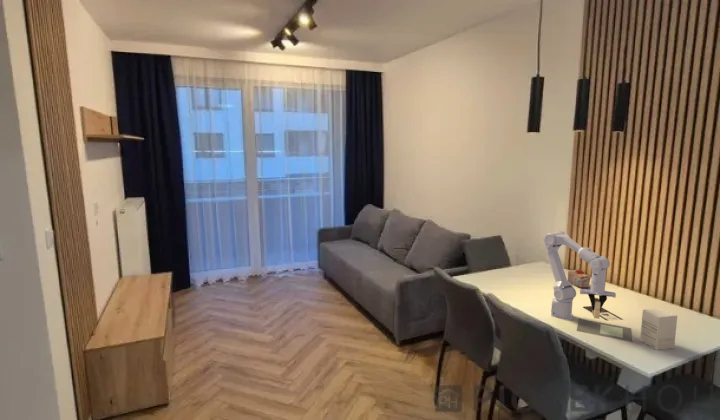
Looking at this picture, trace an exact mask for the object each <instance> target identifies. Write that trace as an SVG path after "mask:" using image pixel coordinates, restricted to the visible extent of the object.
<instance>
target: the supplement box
mask: <svg viewBox="0 0 720 420" xmlns="http://www.w3.org/2000/svg"><path fill="white" fill-rule="evenodd" d="M677 322H678V315H677V314H675V313H672V312H670V311H667V310H665V309H664V308H660V307H657V308H656V307H655V308H646V309H642V315H641V327H640V336H639V339H640V341H641V342H643V343H644V344H646V345H647V346H649V347H651V348H653V350H654V349H655V350H656V351H657V350H658V351H659V350H667V349H674V348H675V344H676V343H675V341H676V333H677Z"/></svg>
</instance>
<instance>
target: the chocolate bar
mask: <svg viewBox="0 0 720 420" xmlns="http://www.w3.org/2000/svg"><path fill="white" fill-rule="evenodd" d="M582 308H583V309H584V310H587V311H589V312H590V313H591V314H592V305H589V306H588V305H587V306H583V307H582ZM599 318H602V319H603V320H605V321H620V320H624V319H623V318H622V317H620V316H618V315H616V314H614V313H612V312H611V311H609V310H607V309H605V308H603V307H602V308H601V311H600V317H599Z"/></svg>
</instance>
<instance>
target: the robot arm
mask: <svg viewBox="0 0 720 420" xmlns="http://www.w3.org/2000/svg"><path fill="white" fill-rule="evenodd" d="M543 242H544V250H545V254H546V256H547V260H548V263H549V265H550V269H551V272H552V275H553V279H554V282H555V283H554V285H553V287H552V288H553V295H554V297H553V298H552V300H551V308H550V312H551V313H550V317H551V318H552V317H553V318H559V319H563V320H567V321H568V320H569V321H573V316H574V314H572V313H573V301H574V298H576V296H577V290H576V288H575V286H573V284H572V283H570V282H569V281H568V277H567V276H566V273H565V270H564V267H563V264H562V260H561V257H560V254H559V248H561V246H566V247H567V248H568V249H571V250H572V251H574V252H576V253H577V254H578V257H579V258H580V259H582V260H583V261H585V263H587V264H588V265H589V267H590V269H591V278H590V281H591V282H590V288H579V294H580V295H587V296H588V298H589V300H590V306H592V310H594V303H595V298H596V296H598V299H599V301H600V303H601V305H600V311H601V308H603V306H604V304H605V302H606V301H607V300H608V297H609V298H610V297H611V298H617V294H616V292H615V291H607V290H606V280H607V269H608V268H609V267H610V265H611V263H610V262H611V261H610V260H609V259H608V258H607V257H606V256H604V255H602V256H601V255H600V254H598V253H596V252H594V251H593V250H592V248H590V247H587V246H586V247H583V246H581V245H580V244H579V243H577V242H576V241H575V240H574V239H573V238H571V237H570V236H569V234H568V233H565V232H564V231H561V230H559V231H555V232H548V233H546V234H545V236H544V237H543Z"/></svg>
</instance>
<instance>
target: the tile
mask: <svg viewBox="0 0 720 420" xmlns="http://www.w3.org/2000/svg"><path fill="white" fill-rule="evenodd" d="M600 305H601V303H600V301H599V297H595V303H594V310H592V313H591V314H592V316H593V319H600V318H601V317H600Z"/></svg>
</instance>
